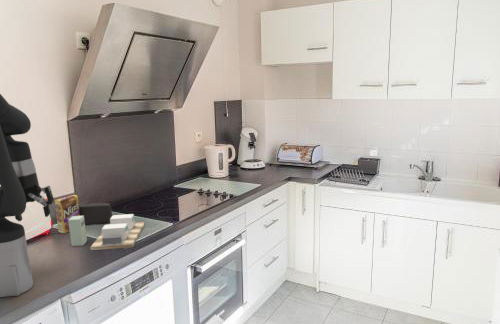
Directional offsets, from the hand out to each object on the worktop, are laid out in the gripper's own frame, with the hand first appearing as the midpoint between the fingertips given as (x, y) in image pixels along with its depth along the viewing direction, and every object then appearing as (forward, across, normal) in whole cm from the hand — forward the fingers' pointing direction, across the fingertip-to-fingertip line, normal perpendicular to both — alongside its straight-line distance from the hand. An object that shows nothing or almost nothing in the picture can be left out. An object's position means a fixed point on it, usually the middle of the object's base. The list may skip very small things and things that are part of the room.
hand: (34, 218), depth 129 cm
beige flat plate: (+19, +24, +21) cm, 37 cm away
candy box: (+19, +1, +37) cm, 42 cm away
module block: (+19, +8, +19) cm, 28 cm away
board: (+20, +24, +21) cm, 37 cm away
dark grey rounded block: (+20, +11, +41) cm, 47 cm away
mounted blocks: (+18, +24, +21) cm, 37 cm away
